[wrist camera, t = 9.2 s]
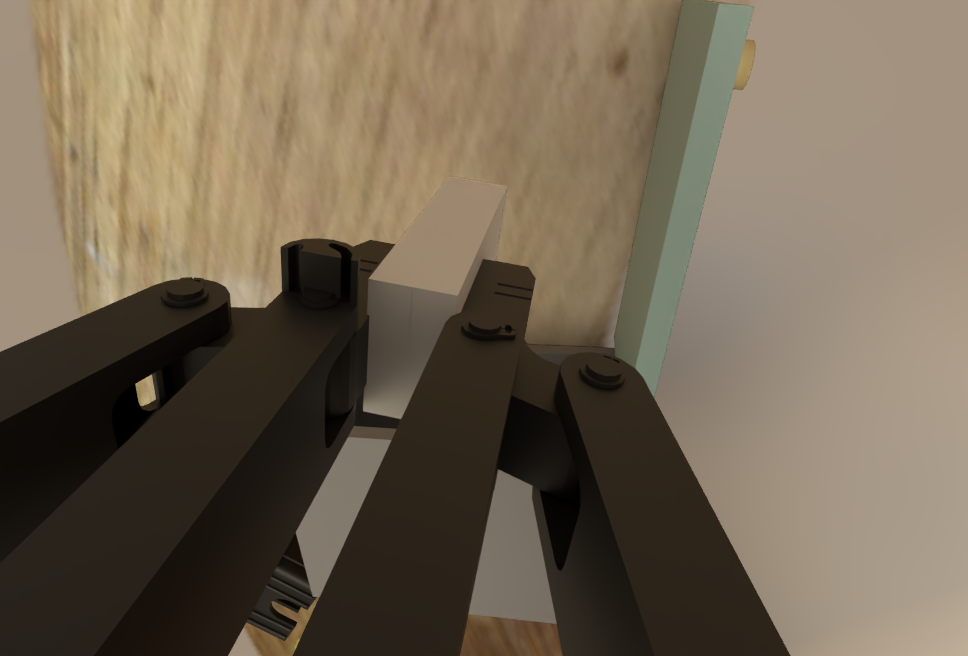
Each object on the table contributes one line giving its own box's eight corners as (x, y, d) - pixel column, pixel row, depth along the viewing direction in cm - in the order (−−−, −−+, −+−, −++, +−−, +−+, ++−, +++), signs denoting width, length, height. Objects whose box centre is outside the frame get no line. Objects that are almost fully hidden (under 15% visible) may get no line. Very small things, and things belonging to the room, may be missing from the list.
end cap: (277, 491, 53) (238, 553, 48) (349, 529, 54) (320, 594, 49) (242, 553, 58) (203, 616, 53) (309, 587, 59) (277, 653, 53)
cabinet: (610, 503, 48) (614, 630, 38) (365, 483, 51) (312, 596, 42) (621, 348, 41) (629, 456, 32) (338, 336, 44) (269, 431, 35)
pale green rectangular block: (612, 345, 41) (617, 446, 32) (682, -2, 31) (719, 3, 22) (652, 351, 40) (668, 454, 32) (736, 3, 30) (795, 9, 22)
